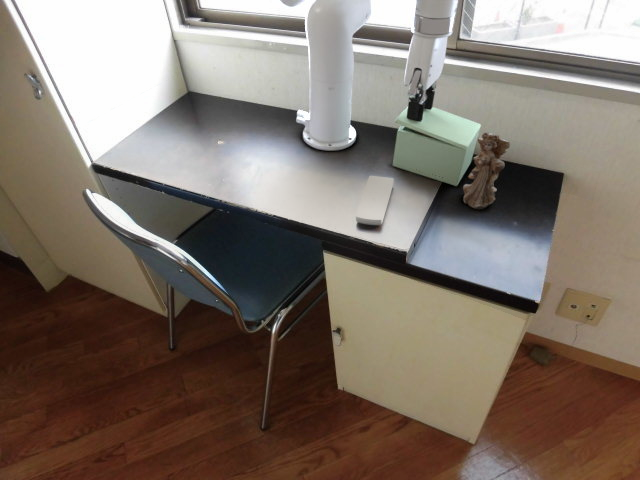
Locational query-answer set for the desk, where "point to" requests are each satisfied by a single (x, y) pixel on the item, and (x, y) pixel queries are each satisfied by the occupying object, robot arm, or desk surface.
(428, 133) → the lid
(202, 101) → the desk surface
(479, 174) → the figurine
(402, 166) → the chest
